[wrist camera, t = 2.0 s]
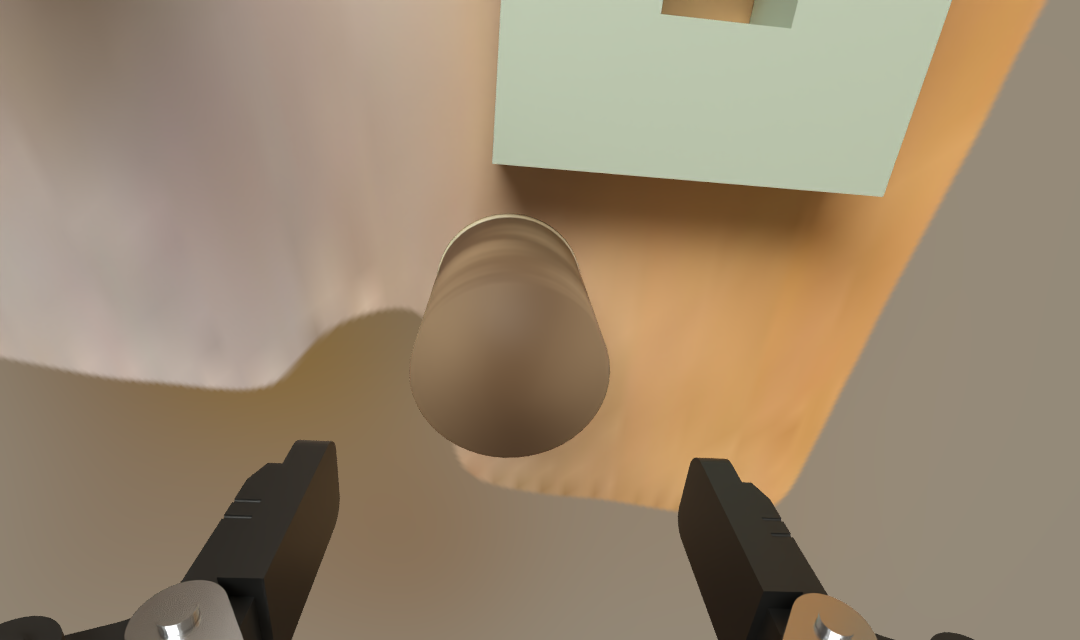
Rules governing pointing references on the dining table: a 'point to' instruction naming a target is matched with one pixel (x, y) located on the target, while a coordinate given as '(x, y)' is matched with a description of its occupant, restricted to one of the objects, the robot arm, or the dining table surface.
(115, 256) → the dining table surface
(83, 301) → the dining table surface
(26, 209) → the dining table surface
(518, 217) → the peg
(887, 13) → the socket block
